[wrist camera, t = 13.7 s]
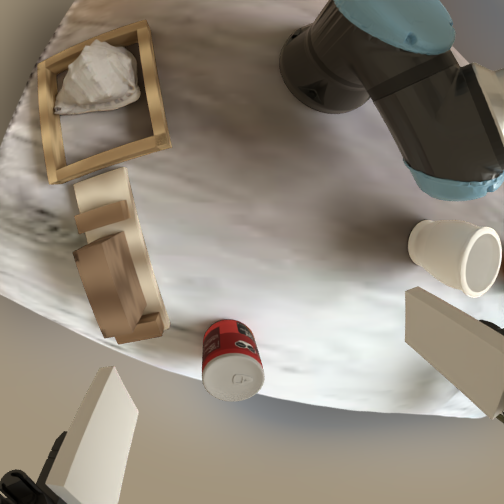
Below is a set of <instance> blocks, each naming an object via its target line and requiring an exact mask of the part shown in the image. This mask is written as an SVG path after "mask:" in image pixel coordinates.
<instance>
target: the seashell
mask: <svg viewBox="0 0 504 504" xmlns="http://www.w3.org/2000/svg"><path fill="white" fill-rule="evenodd" d="M68 68H69V70H68V73H67V75H66V77H65V78H64V80H63V87H62V88H61V90H60V91H59V93H58V94H57V96H56V101H55V107H54V109H55V111H56V112H55V113H54V114H59V115H64V114H66V115H68V114H70V115H72V114H81V113H87V112H93V111H109V110H115V109H118V108H121V107H124V106H126V105H128V104H130V103H133V102H135V101H137V100H138V99H139V97H140V90H139V86H138V85H137V84H138V78H137V61H136V59H135V57H134V55H133V54H132V53H131V52H130V51H128V50H127V49H126V48H124V47H114V46H111V45H109V44H108V43H106V42H100V41H99V40H97V39H96V40H95V41H94V42H93V43H92V44H91V45H90V46H85V47H84V49H83V51H82V52H81V54H80V55H79V57H78V58H77V59H76V60H75V61H74V62H73V63H71V64H70V65H68Z"/></svg>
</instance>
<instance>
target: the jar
mask: <svg viewBox="0 0 504 504" xmlns="http://www.w3.org/2000/svg"><path fill="white" fill-rule="evenodd" d="M408 252H409V255H410V258H411V259H412V261H413V262H414V263H415V264H417V265H419V266H422V267H423V268H424V269H425V270H426V271H427V272H428V273H429V274H431V275H432V276H433V277H434V278H436V279H437V280H438V281H440V282H441V283H443V284H445V285H447V286H449V287H452V288H455V289H459V290H462V291H463V292H464V293H465V294H466V295H468V296H470V297H472V298H477V297H480V296H482V295H483V294H485V293H486V292H487V291H488V290H489V289H490V287H491V286H492V285H493V283H494V281H495V279H496V277H497V275H498V272H499V269H500V265H501V258H502V247H501V241H500V238H499V236H498V234H497V233H496V231H495V230H494V229H492V228H489V227H478V226H476V225H474V224H471V223H468V222H465V221H459V220H448V221H447V220H440V221H435V222H434V221H431V220H424V221H421V222H419V223H418V224H417V225H416V226H415V227H414V228H413V230H412V232H411V234H410V236H409V240H408Z"/></svg>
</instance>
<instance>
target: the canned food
mask: <svg viewBox="0 0 504 504" xmlns="http://www.w3.org/2000/svg"><path fill="white" fill-rule="evenodd" d="M202 381H203V385H204V387H205V389H206V390H207V392H209V393H210V394H211V395H212V396H214V397H215V398H218V399H220V400H224V401H241V400H245V399H248V398H250V397H252V396H253V395H255V394H256V393H257V392H258V391H259V390H260V389H261V387H262V386H263V383H264V371H263V367H262V363H261V359H260V356H259V353H258V349H257V346H256V342H255V339H254V335H253V333H252V331H251V330H250V329H249V328H248V327H247V326H246V325H244V324H243V323H241V322H239V321H236V320H222V321H219V322H216V323H215V324H213V325H212V326H211V327H210V328H209V329H208V330H207V332H206V333H205V335H204V339H203V357H202Z"/></svg>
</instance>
